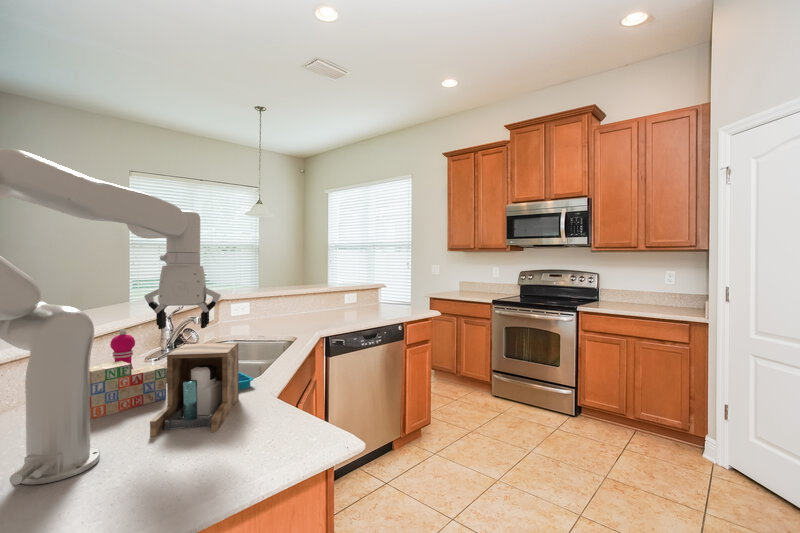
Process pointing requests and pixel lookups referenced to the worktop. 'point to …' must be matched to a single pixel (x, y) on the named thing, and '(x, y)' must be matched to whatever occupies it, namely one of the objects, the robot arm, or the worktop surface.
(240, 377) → the ice cube tray
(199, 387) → the medicine bottle
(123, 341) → the pepper mill
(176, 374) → the shelf lane
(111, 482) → the worktop surface
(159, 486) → the worktop surface
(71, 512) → the worktop surface
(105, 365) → the stack of blocks
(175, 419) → the frame
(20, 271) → the robot arm
